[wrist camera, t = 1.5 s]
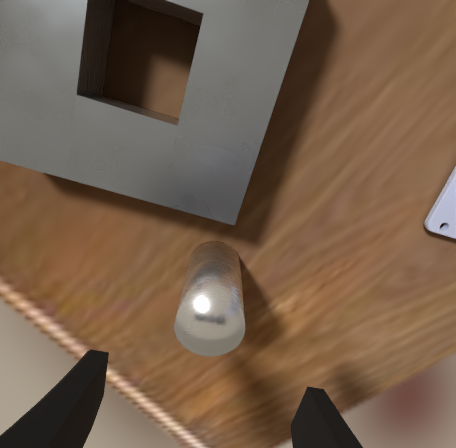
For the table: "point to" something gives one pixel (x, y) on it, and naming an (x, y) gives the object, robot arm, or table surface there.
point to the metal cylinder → (211, 301)
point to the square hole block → (136, 116)
